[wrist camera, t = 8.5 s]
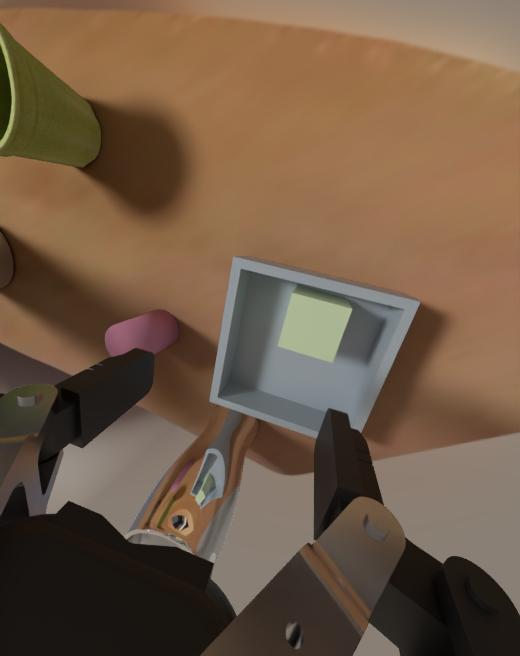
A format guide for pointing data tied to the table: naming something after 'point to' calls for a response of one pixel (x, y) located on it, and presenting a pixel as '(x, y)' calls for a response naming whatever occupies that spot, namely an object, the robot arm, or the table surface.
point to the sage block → (314, 323)
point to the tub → (299, 369)
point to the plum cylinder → (142, 333)
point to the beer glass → (199, 489)
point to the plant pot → (42, 111)
